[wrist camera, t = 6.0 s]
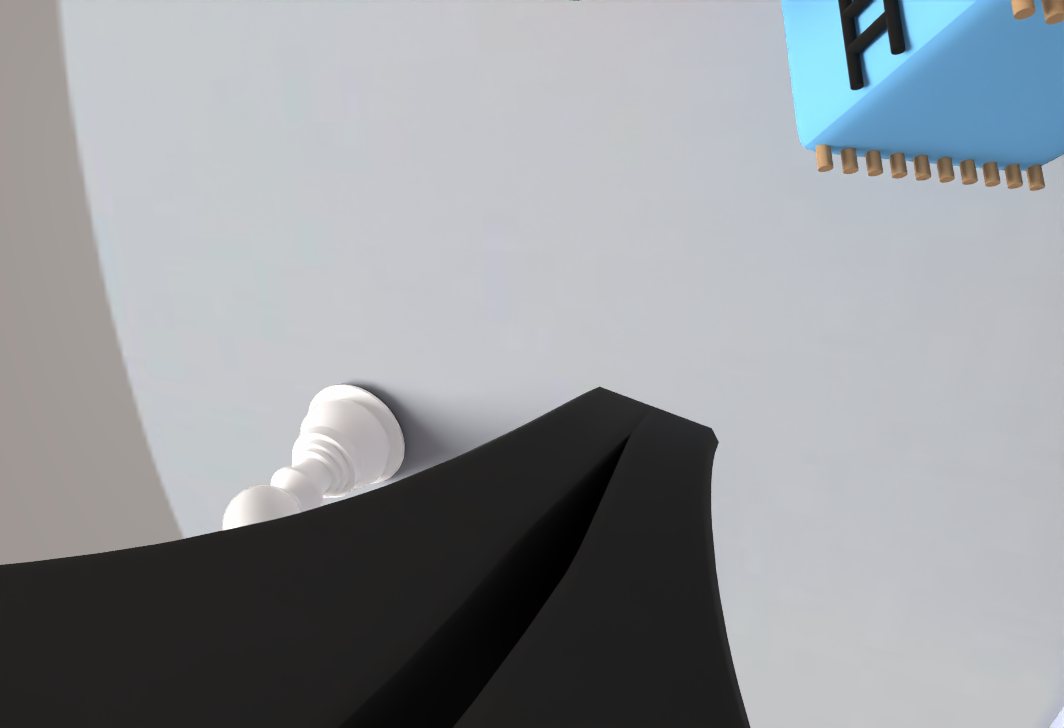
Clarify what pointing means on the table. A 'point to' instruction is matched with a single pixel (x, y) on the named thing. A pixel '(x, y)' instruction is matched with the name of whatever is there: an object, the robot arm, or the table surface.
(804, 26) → the building blocks
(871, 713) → the table surface
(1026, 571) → the table surface
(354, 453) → the chess pawn
